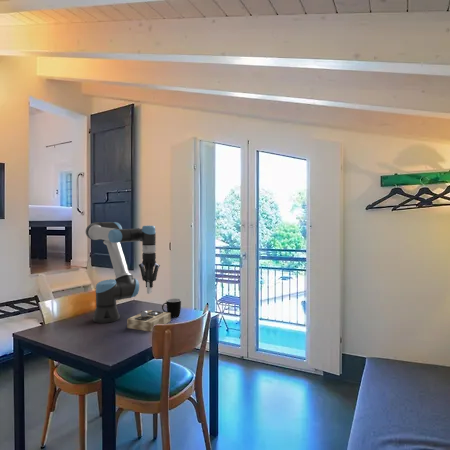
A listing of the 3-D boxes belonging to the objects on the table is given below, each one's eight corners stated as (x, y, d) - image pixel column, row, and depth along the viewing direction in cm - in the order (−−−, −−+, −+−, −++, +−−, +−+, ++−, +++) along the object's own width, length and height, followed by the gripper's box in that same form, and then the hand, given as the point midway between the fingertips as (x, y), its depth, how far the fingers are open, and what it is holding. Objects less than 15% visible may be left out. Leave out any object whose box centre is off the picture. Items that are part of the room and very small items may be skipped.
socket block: (127, 327, 198) (127, 318, 198) (148, 318, 216) (148, 309, 216) (150, 331, 192) (150, 321, 191) (170, 321, 210) (170, 312, 210)
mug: (182, 314, 224) (182, 298, 224) (179, 318, 215) (179, 302, 215) (164, 313, 225) (164, 298, 225) (160, 318, 216) (159, 301, 216)
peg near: (139, 320, 198) (139, 311, 198) (143, 318, 201) (143, 310, 201) (144, 320, 197) (144, 312, 197) (148, 319, 200) (148, 310, 200)
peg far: (150, 321, 207) (150, 313, 207) (153, 319, 211) (153, 311, 211) (155, 322, 206) (155, 314, 206) (158, 320, 209) (158, 312, 209)
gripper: (135, 252, 201) (136, 293, 202) (155, 253, 197) (155, 295, 198) (142, 251, 208) (143, 290, 209) (162, 252, 204) (162, 292, 205)
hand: (149, 293), depth 203 cm, fingers closed
